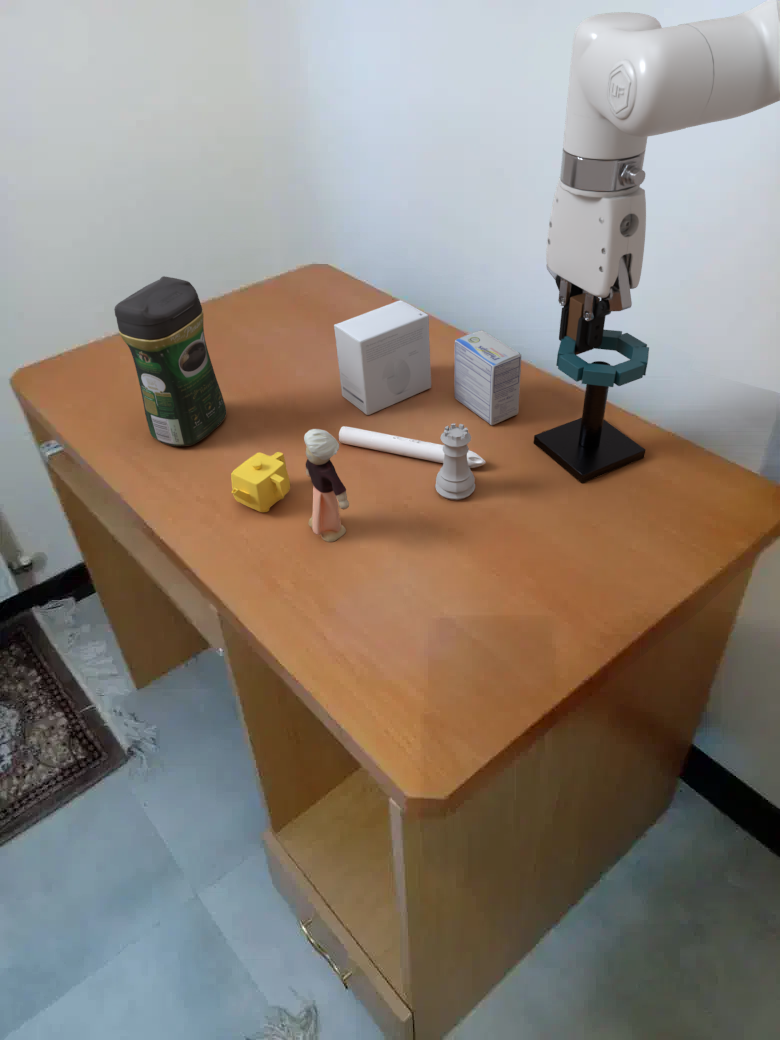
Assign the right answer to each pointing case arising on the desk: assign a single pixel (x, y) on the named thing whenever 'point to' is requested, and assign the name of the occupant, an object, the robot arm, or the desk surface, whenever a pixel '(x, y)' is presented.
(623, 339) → the teal segmented ring
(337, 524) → the grandmother figurine
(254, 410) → the desk surface
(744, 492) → the desk surface
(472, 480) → the rook chess piece
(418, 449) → the marker
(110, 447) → the desk surface
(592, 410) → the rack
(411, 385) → the cosmetics box
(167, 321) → the coffee jar
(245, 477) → the teapot
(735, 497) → the desk surface
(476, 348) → the medicine box
